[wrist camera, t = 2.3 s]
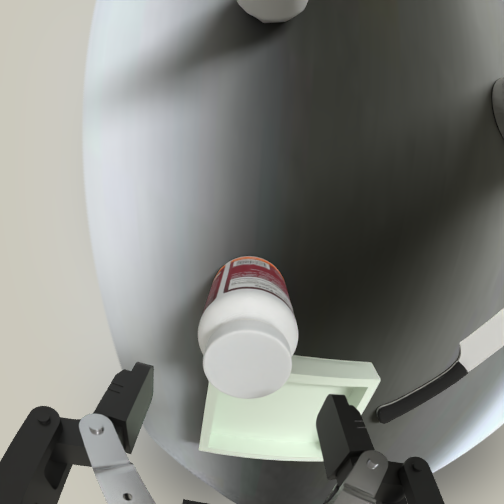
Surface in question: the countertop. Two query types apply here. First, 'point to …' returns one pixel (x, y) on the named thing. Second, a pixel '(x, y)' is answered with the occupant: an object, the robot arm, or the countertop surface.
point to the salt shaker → (273, 9)
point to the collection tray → (284, 411)
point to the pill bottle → (248, 329)
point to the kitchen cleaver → (451, 368)
